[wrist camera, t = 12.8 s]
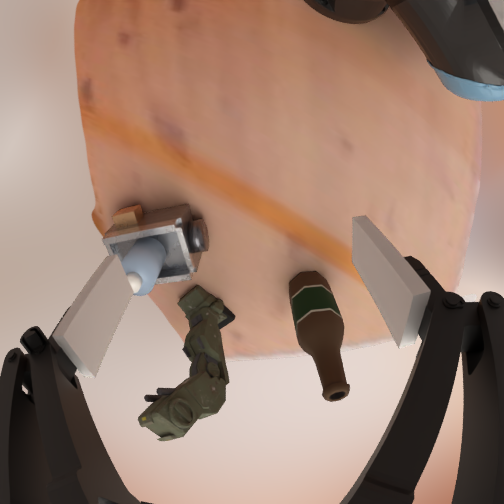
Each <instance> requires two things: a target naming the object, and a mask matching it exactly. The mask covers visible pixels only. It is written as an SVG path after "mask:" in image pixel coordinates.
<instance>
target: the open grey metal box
mask: <svg viewBox="0 0 504 504" xmlns="http://www.w3.org/2000/svg"><path fill="white" fill-rule="evenodd" d="M112 218H113V221H114V225H113V226H112V227H111V228H110V229H109V230H108V231H107V232H106V233H105V236H104V237H103V239H102V241H103V243H104V245H106V248H107V250H108V253H109V255H116V254H117V255H118V257H119V259H120V262H122V260H123V259H124V258H125V256H126V255H127V253H128V252H129V250H130V249H131V247H132V246H133V245H134V243H135V242H136V241H137V240H138V239H140V238H142V237H151V238H154V239H156V240H158V241H159V242H160V243H161V244H162V245H163V246H164V248H165V251H166V260H165V262H164V264H163V266H162V269H161V271H160V273H159V275H158V277H157V280H156V282H155V284H162V283H170V282H178V281H185V280H192V276H193V273H194V272H197V269H198V265H199V261H200V258H201V254H202V252H204V251H208V248H209V238H208V232H207V227H206V224H205V222H204V220H203V219H199V220H193V218H192V214H191V210H190V206H189V204H184V205H179V206H174V207H170V208H165V209H160V210H155V211H151V212H146V213H143V212H142V209H141V205H136V206H132V207H128V208H124V209H120V210H118V211H117V212H116V213H115V214H114V215H113V216H112Z"/></svg>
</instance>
